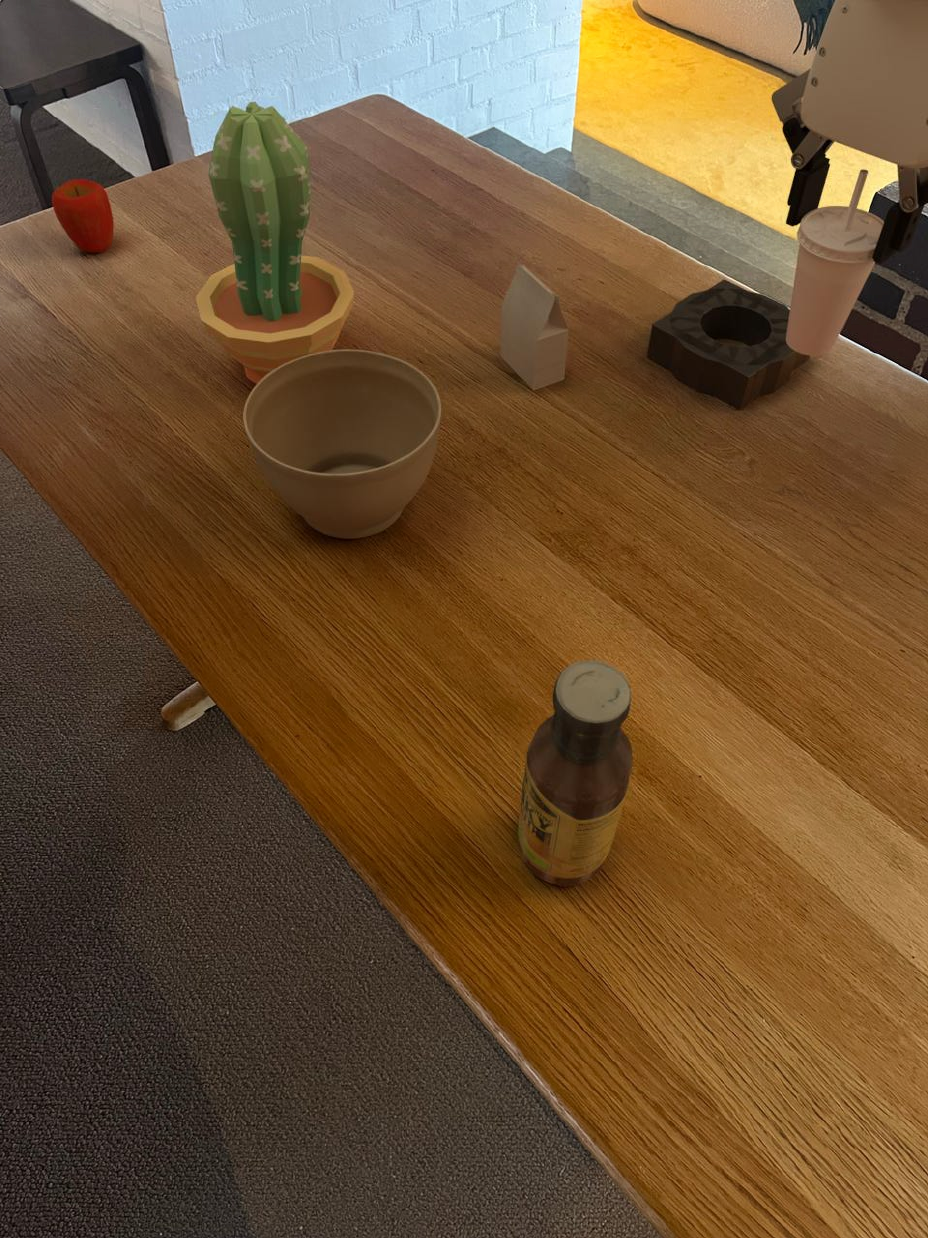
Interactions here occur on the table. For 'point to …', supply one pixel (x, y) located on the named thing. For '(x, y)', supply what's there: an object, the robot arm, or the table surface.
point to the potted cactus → (268, 249)
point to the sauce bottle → (576, 775)
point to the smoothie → (830, 271)
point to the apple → (85, 214)
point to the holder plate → (719, 366)
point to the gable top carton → (533, 331)
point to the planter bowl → (344, 437)
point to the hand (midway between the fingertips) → (843, 234)
